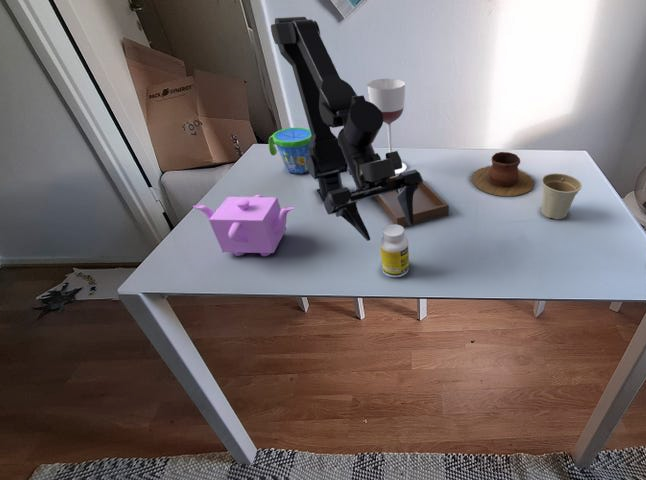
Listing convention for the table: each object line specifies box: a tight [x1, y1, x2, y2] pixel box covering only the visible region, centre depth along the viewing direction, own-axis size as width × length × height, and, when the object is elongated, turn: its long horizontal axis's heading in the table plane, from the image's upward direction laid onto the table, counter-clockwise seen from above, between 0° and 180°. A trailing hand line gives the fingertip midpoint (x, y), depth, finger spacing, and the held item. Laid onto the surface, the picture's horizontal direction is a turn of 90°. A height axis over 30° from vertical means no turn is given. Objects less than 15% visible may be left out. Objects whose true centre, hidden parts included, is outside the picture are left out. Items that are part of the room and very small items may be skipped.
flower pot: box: [541, 172, 583, 220], centre depth 95 cm, size 9×9×9 cm
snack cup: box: [268, 126, 311, 175], centre depth 109 cm, size 16×10×10 cm
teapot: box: [192, 194, 296, 257], centre depth 81 cm, size 15×13×11 cm
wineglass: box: [367, 78, 407, 175], centre depth 107 cm, size 9×10×23 cm
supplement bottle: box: [379, 223, 410, 278], centre depth 76 cm, size 5×5×10 cm
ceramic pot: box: [470, 151, 535, 197], centre depth 108 cm, size 18×18×7 cm
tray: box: [372, 175, 450, 228], centre depth 99 cm, size 20×14×3 cm
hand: (391, 232), depth 74 cm, fingers open, 9 cm apart
